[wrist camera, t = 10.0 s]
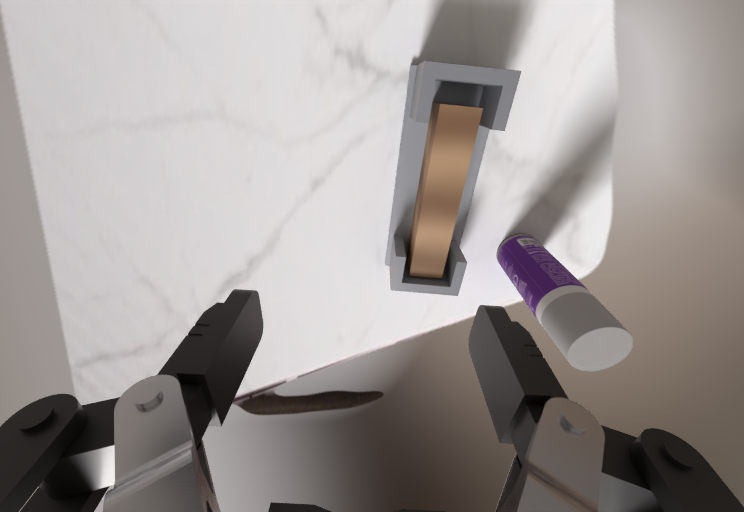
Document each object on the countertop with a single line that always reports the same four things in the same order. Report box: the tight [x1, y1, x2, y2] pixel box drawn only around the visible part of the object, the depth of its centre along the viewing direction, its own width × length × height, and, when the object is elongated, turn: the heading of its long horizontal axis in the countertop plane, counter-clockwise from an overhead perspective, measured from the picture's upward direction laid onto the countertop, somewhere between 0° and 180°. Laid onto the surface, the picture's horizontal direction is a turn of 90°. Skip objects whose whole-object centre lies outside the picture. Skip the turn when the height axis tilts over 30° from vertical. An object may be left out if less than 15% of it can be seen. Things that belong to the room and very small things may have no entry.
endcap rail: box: [385, 61, 521, 296], centre depth 29 cm, size 20×8×6 cm, turn 175°
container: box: [497, 234, 633, 371], centre depth 28 cm, size 5×5×15 cm
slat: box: [406, 102, 483, 278], centre depth 29 cm, size 16×3×4 cm, turn 175°
